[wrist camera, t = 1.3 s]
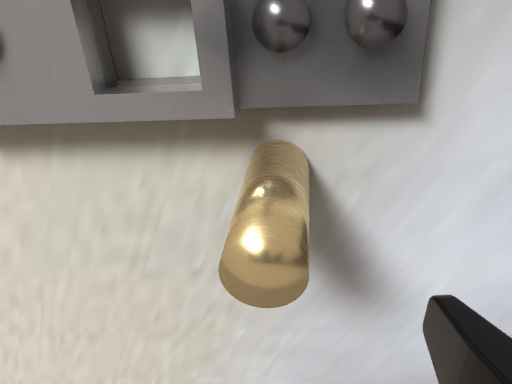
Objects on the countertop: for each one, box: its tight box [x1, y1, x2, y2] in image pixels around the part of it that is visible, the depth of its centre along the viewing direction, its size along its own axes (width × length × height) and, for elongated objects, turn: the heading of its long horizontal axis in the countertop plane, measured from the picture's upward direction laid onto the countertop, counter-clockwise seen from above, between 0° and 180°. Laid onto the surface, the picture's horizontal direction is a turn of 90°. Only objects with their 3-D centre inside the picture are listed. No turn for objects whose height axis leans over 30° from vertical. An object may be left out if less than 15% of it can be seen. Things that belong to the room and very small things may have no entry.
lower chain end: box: [86, 0, 431, 109], centre depth 17 cm, size 7×14×2 cm, turn 94°
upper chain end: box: [0, 0, 239, 125], centre depth 17 cm, size 7×14×3 cm, turn 94°
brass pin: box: [219, 140, 309, 308], centre depth 17 cm, size 3×3×8 cm
